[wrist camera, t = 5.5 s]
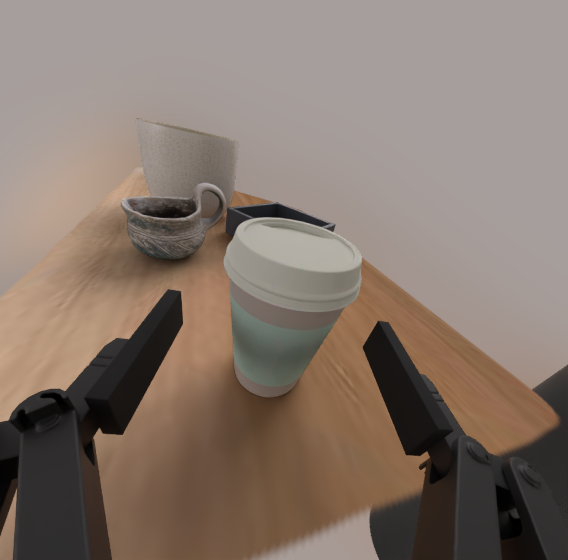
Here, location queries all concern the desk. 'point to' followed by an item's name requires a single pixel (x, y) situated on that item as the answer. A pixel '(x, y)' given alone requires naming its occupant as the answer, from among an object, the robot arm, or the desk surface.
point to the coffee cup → (285, 297)
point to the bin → (270, 215)
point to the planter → (187, 162)
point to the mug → (170, 222)
